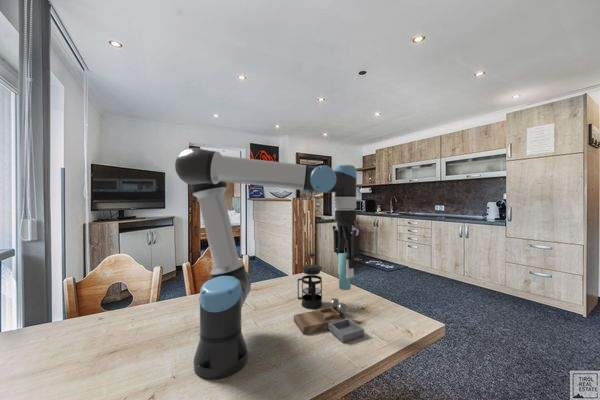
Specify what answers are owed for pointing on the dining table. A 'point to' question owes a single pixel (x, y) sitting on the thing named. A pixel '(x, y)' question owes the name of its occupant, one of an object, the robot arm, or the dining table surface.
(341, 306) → the bench dogs
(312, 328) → the brown flat block
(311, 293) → the french press
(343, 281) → the dowel
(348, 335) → the tray
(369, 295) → the dining table surface
